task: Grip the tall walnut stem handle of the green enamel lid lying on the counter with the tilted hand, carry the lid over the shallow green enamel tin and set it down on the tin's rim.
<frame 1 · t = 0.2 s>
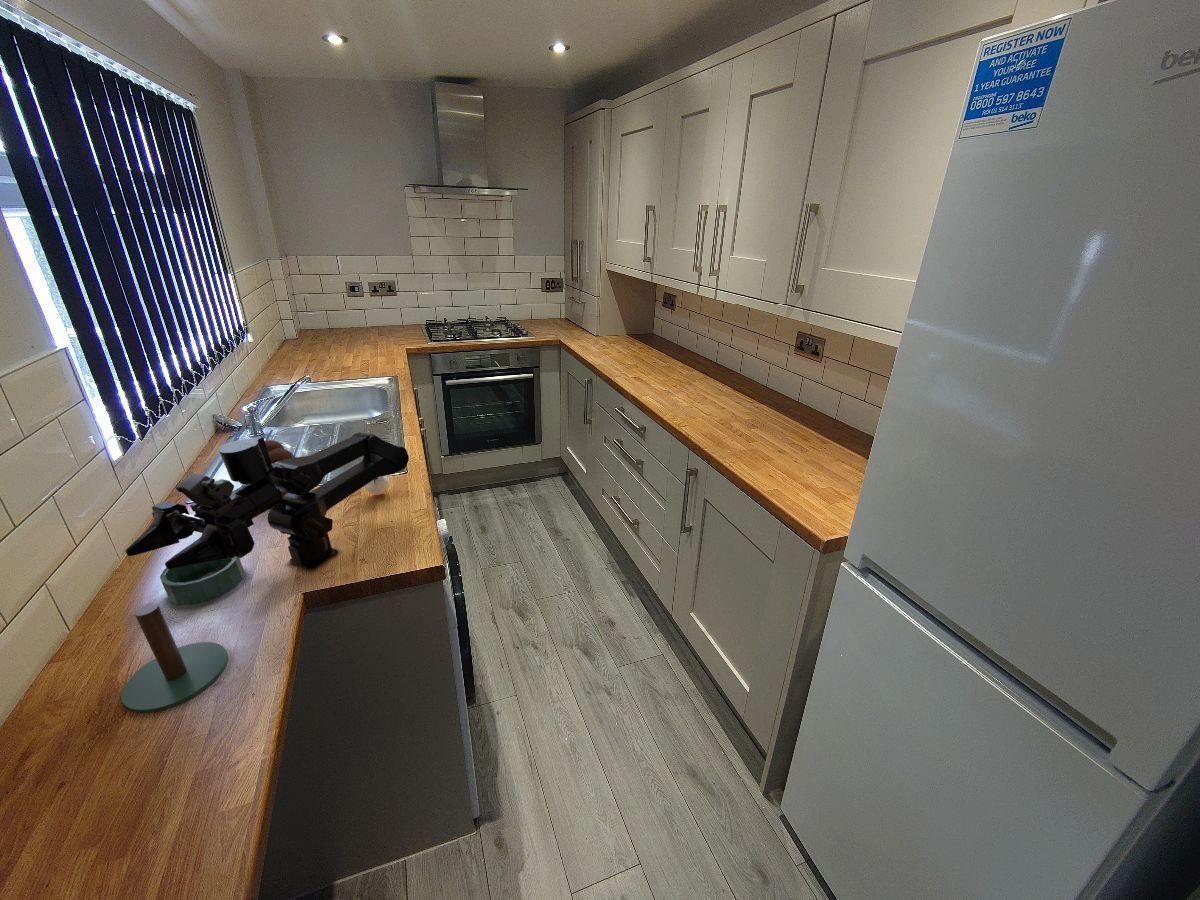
hand: (146, 559, 77), 17 cm above the countertop, tool horizontal, fingers open, 9 cm apart
ice cream bowl: (283, 500, 128), on the countertop
lid: (177, 676, 78), point 1 cm above the countertop
tin: (208, 586, 98), on the countertop
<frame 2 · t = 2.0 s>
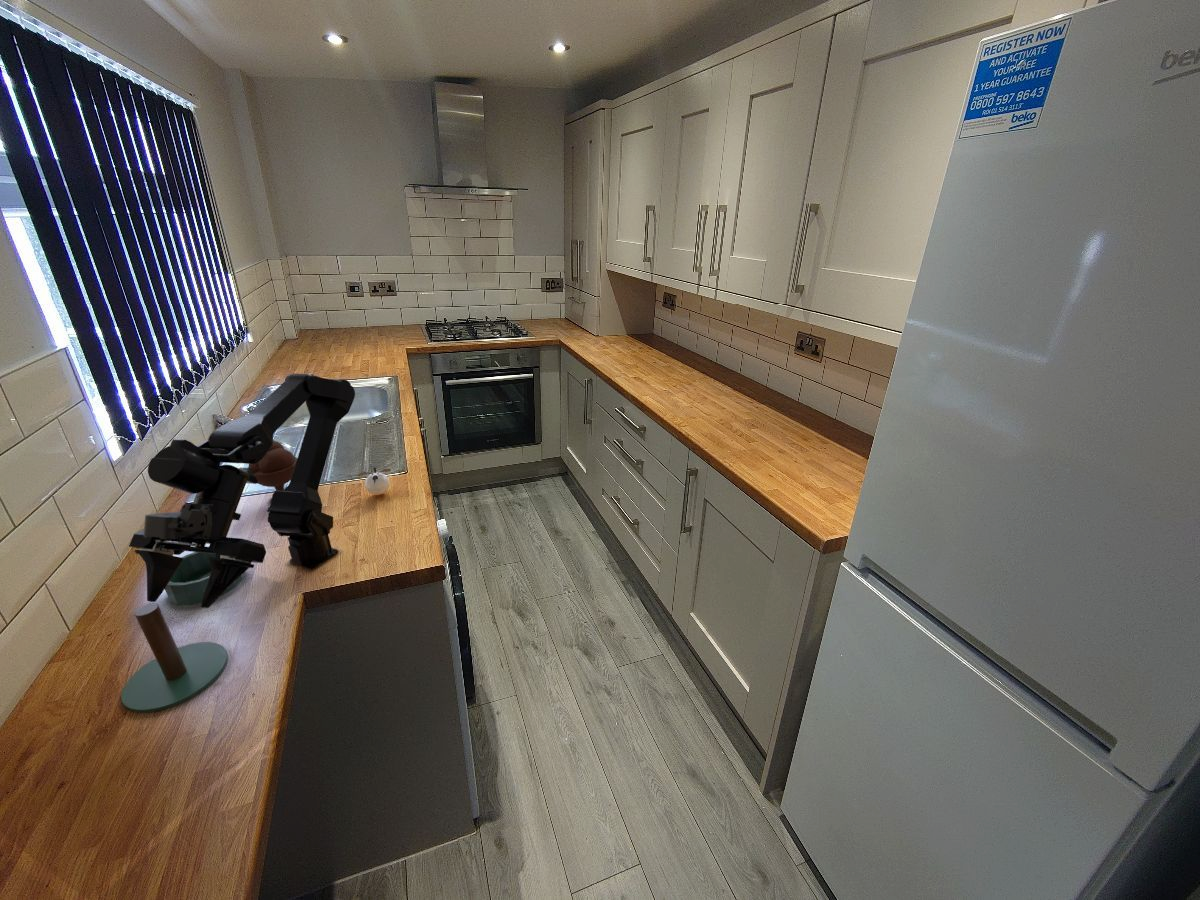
hand: (177, 604, 77), 11 cm above the countertop, tool tilted 45°, fingers open, 9 cm apart
nothing on the countertop moved.
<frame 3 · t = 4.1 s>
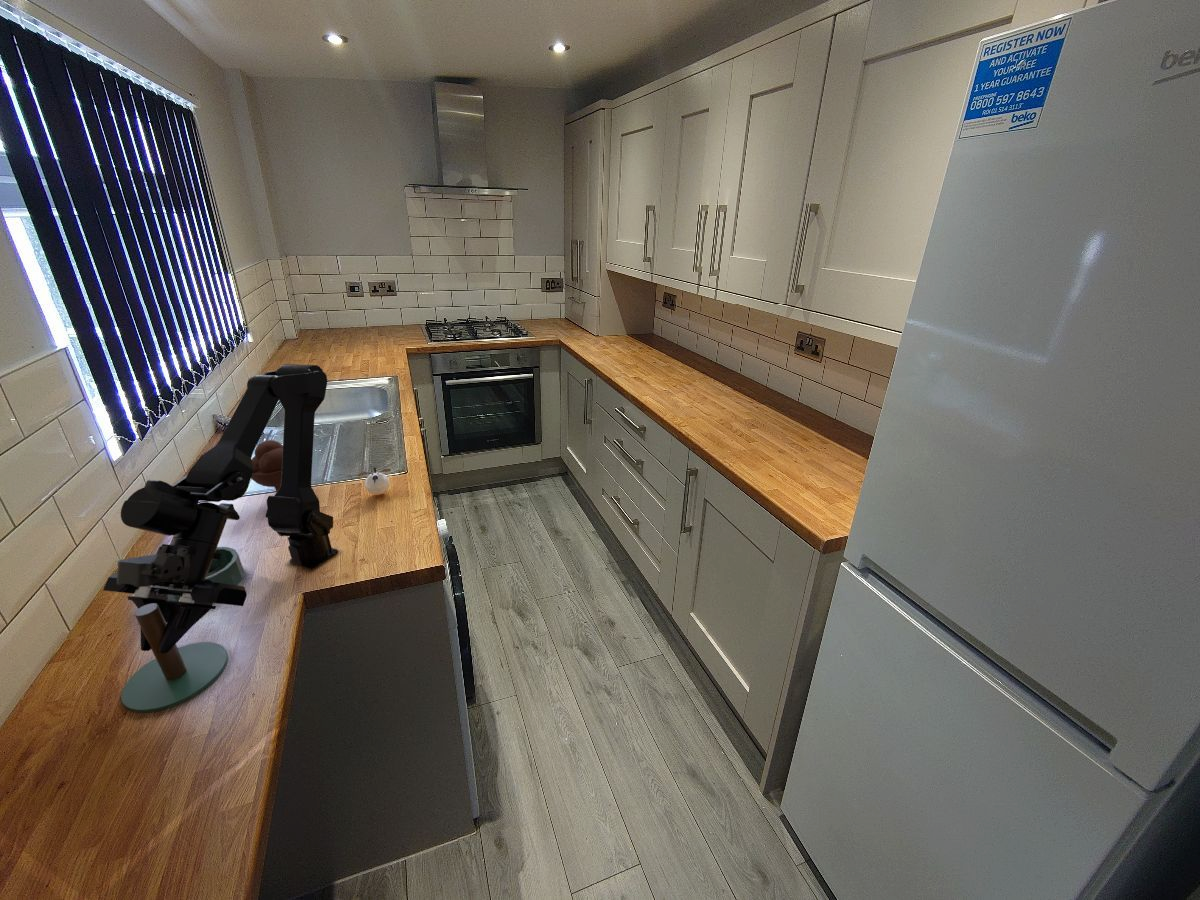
hand: (153, 651, 74), 7 cm above the countertop, tool tilted 45°, fingers closed on lid, 2 cm apart
lid: (177, 676, 78), point 1 cm above the countertop, touching gripper
everything else where it was.
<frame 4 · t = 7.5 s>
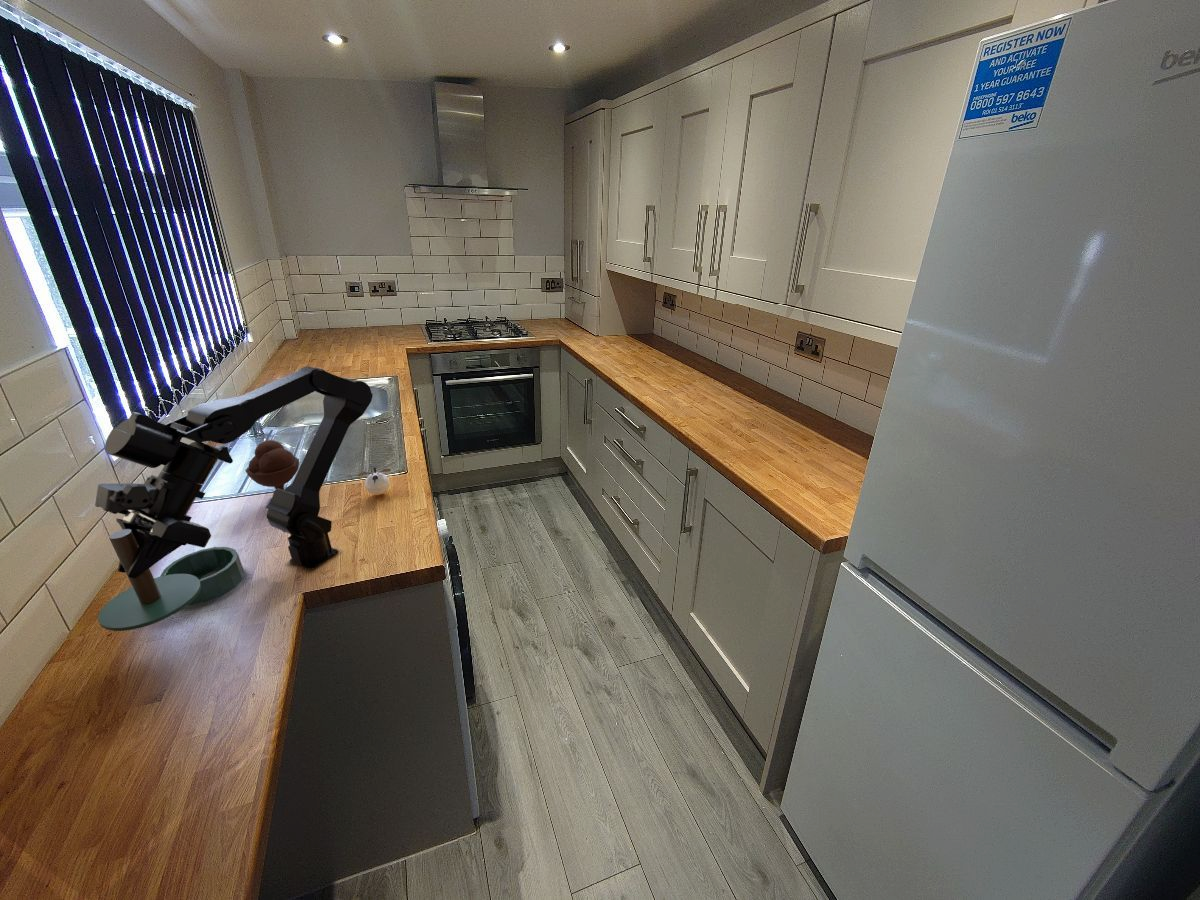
hand: (126, 574, 78), 14 cm above the countertop, tool tilted 45°, fingers closed on lid, 2 cm apart
lid: (152, 601, 82), point 8 cm above the countertop, touching gripper
everything else where it was.
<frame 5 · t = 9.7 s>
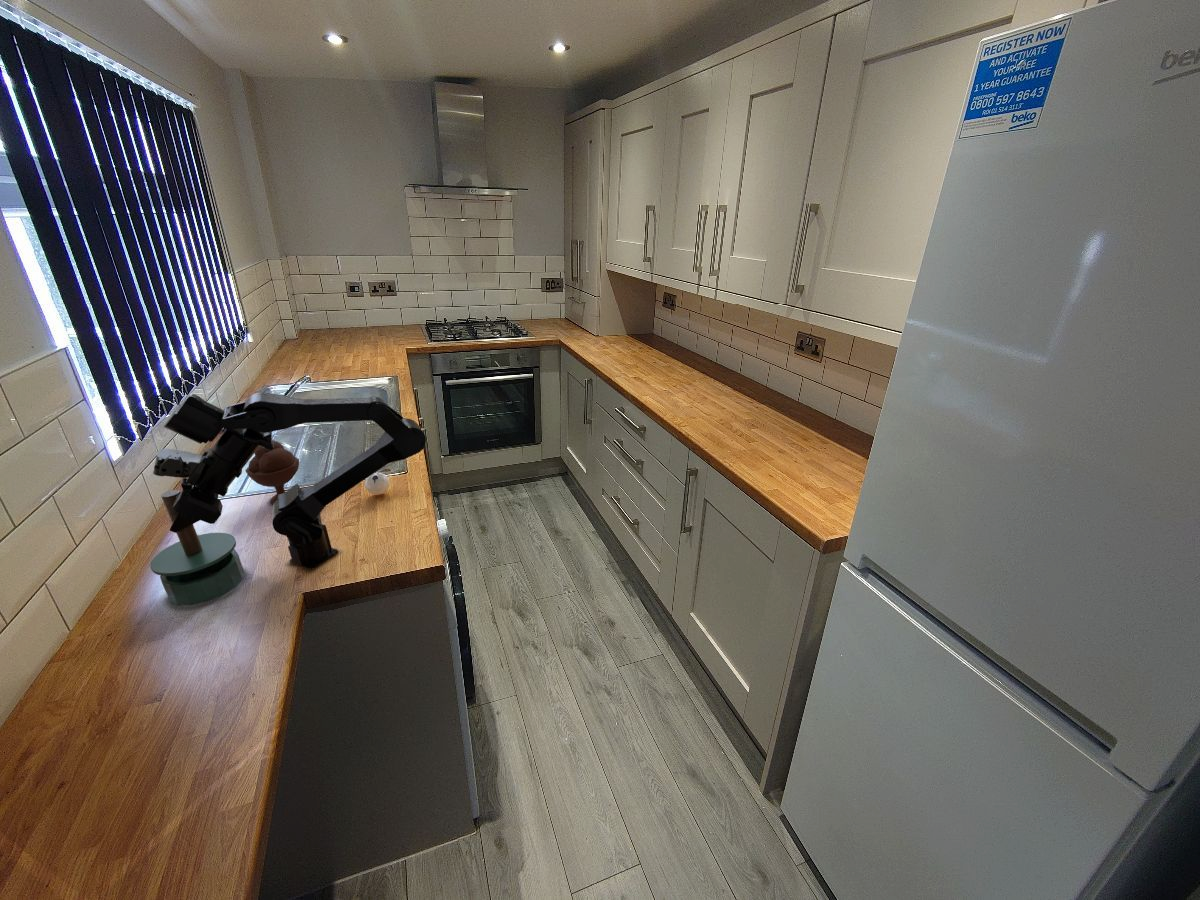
hand: (174, 527, 92), 13 cm above the countertop, tool tilted 45°, fingers closed on lid, 2 cm apart
lid: (195, 554, 95), point 7 cm above the countertop, touching gripper
everything else where it was.
when the fingers open (11 cm above the countertop, at t = 11.1 s): lid stays where it is, resting on tin.
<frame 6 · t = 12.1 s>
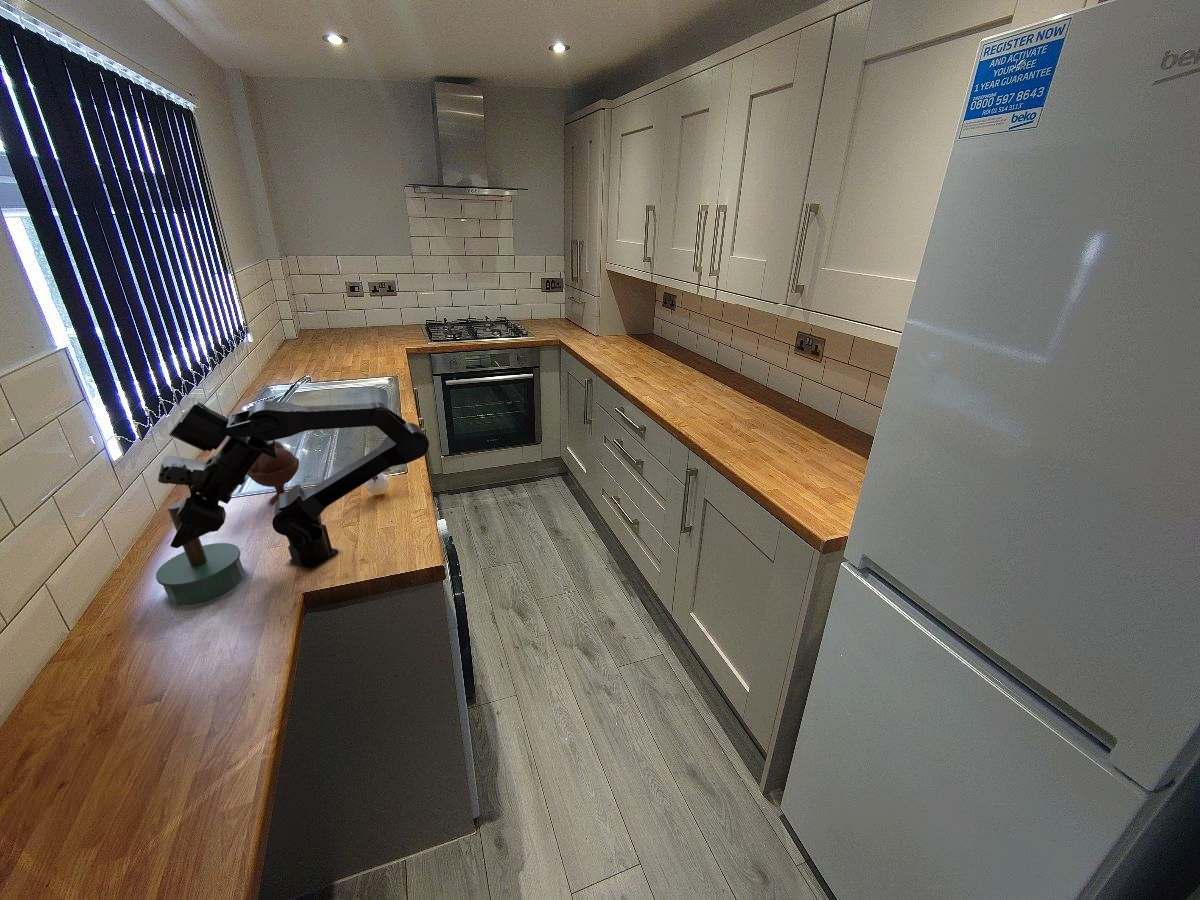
hand: (177, 534, 92), 12 cm above the countertop, tool tilted 45°, fingers open, 9 cm apart
lid: (200, 565, 96), point 5 cm above the countertop, touching tin
everything else where it was.
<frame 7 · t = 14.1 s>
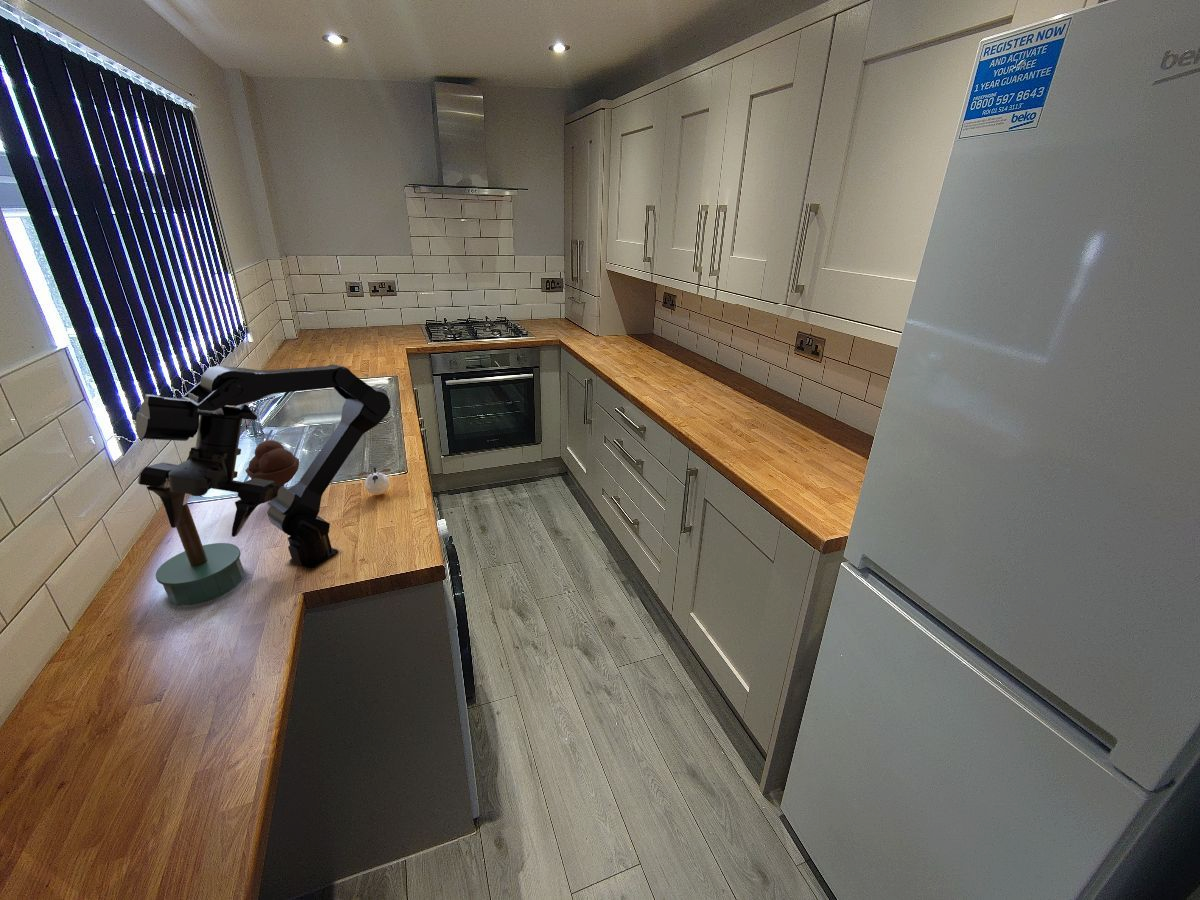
hand: (204, 531, 89), 14 cm above the countertop, tool tilted 20°, fingers open, 9 cm apart
nothing on the countertop moved.
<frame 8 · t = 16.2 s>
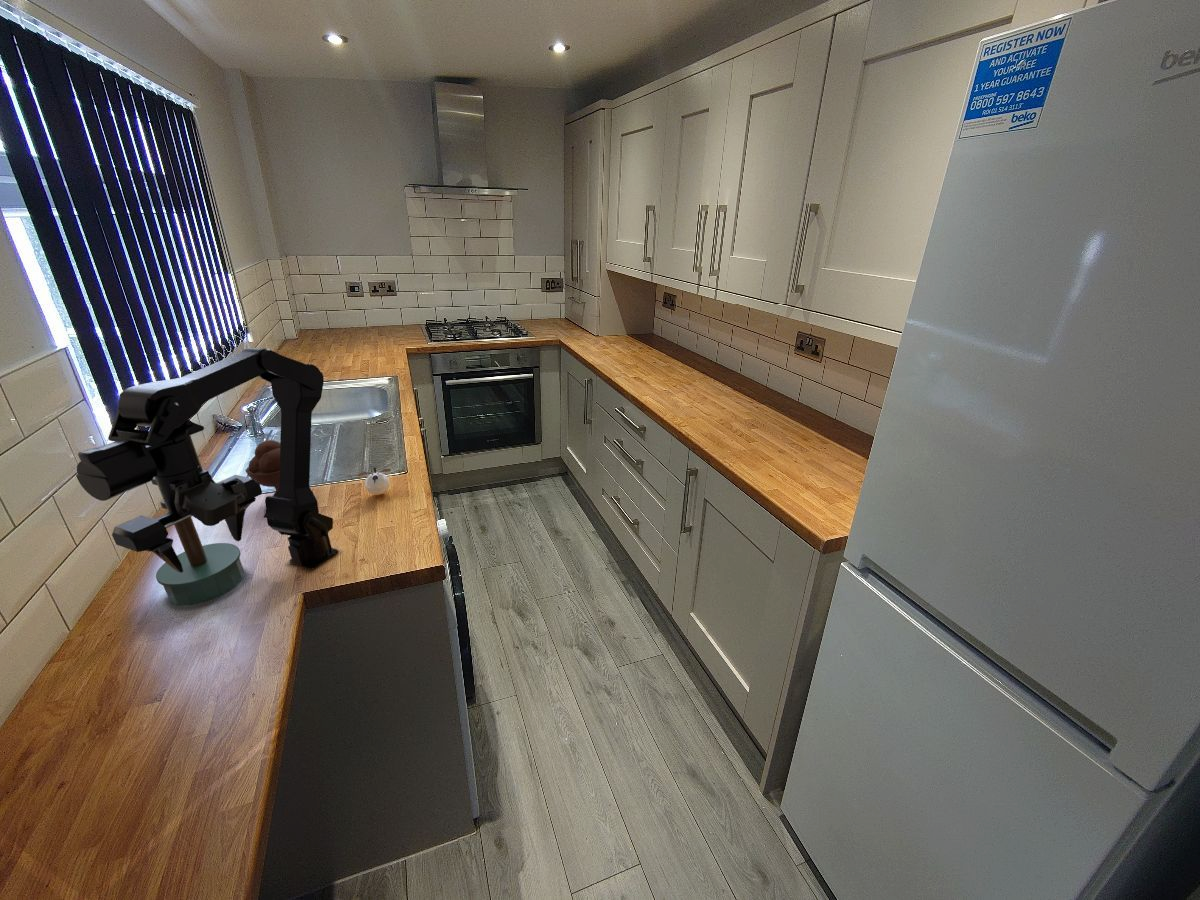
hand: (210, 555, 85), 13 cm above the countertop, tool pointing down, fingers open, 9 cm apart
nothing on the countertop moved.
at the end: lid 0.0 cm off-centre on the tin, point 4.9 cm above the tin's base; lid tilted 0°; the gripper is holding nothing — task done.
